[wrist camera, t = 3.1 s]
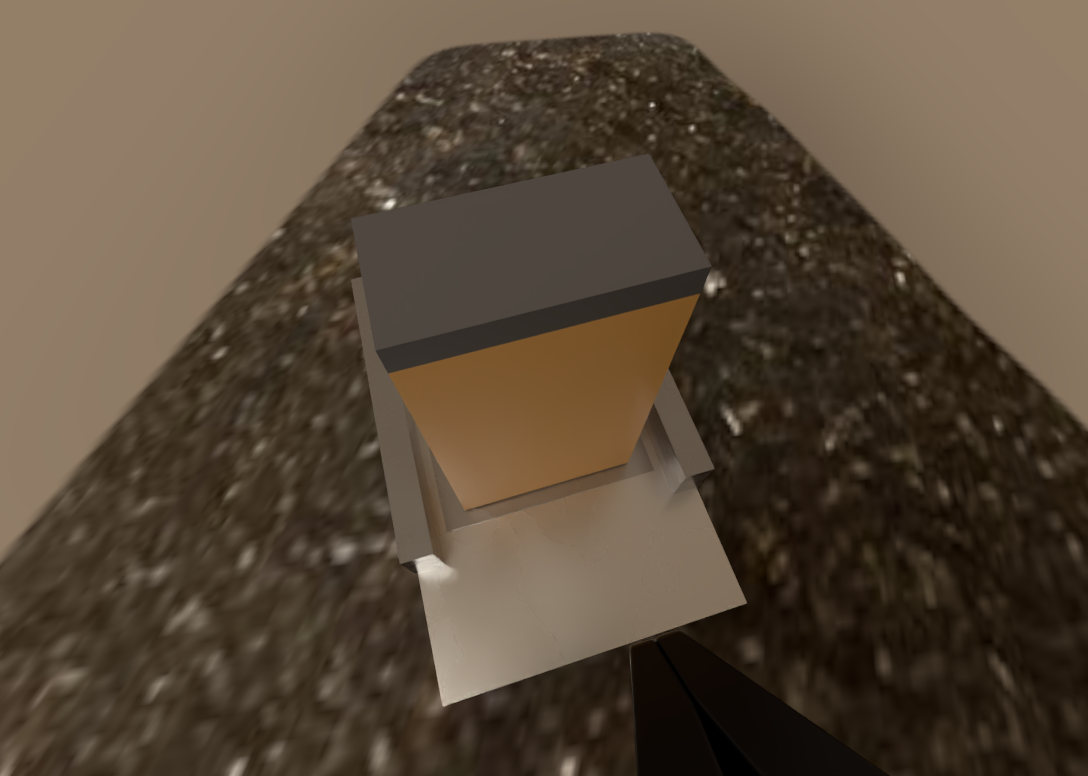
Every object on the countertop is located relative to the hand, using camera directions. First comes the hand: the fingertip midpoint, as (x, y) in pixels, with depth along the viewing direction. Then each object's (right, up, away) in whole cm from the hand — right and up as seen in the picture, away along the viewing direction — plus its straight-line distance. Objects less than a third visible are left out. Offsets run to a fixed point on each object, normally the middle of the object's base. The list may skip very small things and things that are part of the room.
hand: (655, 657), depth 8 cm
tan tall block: (-2, +2, +11) cm, 11 cm away
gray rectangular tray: (-2, +3, +12) cm, 13 cm away
